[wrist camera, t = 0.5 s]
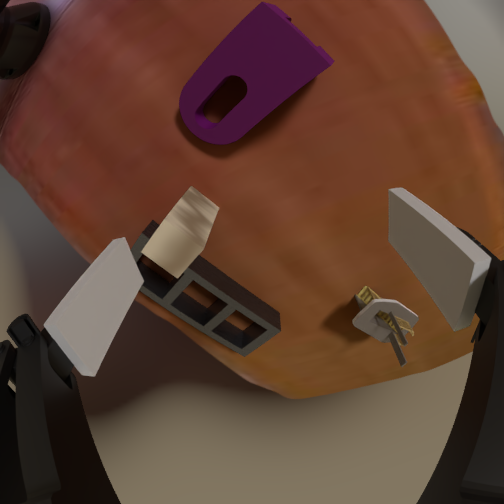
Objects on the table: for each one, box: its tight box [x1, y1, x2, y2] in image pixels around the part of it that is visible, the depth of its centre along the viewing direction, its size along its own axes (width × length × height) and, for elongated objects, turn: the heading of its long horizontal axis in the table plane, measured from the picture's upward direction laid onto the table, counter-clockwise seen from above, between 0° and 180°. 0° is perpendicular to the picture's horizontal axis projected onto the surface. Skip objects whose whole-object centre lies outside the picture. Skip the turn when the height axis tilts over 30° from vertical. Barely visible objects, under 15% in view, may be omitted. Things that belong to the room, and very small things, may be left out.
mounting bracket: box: [179, 2, 334, 145], centre depth 28 cm, size 10×8×18 cm
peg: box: [141, 186, 219, 279], centre depth 33 cm, size 5×5×12 cm
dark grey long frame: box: [130, 220, 281, 357], centre depth 43 cm, size 26×9×4 cm, turn 49°
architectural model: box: [352, 286, 419, 367], centre depth 40 cm, size 21×25×14 cm
